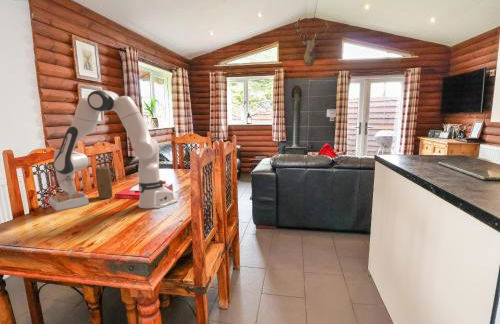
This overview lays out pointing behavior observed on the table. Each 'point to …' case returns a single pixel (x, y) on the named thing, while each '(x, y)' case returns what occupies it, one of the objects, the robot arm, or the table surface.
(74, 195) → the small crate
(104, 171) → the block
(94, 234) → the table surface
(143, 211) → the table surface
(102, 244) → the table surface
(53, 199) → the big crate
